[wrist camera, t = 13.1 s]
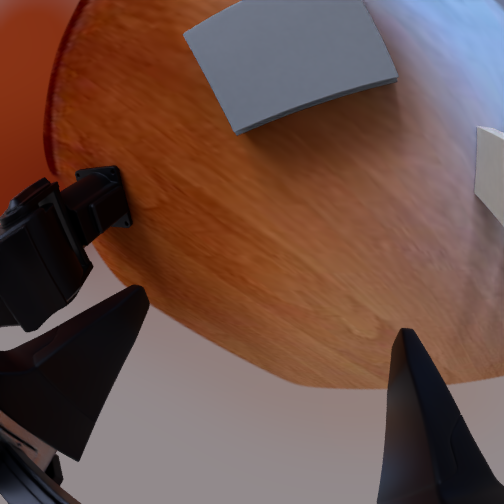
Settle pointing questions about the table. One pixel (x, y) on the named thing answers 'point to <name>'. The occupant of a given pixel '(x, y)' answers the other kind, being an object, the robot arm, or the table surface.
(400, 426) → the robot arm
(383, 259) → the table surface
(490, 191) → the slim cream book
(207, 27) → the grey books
